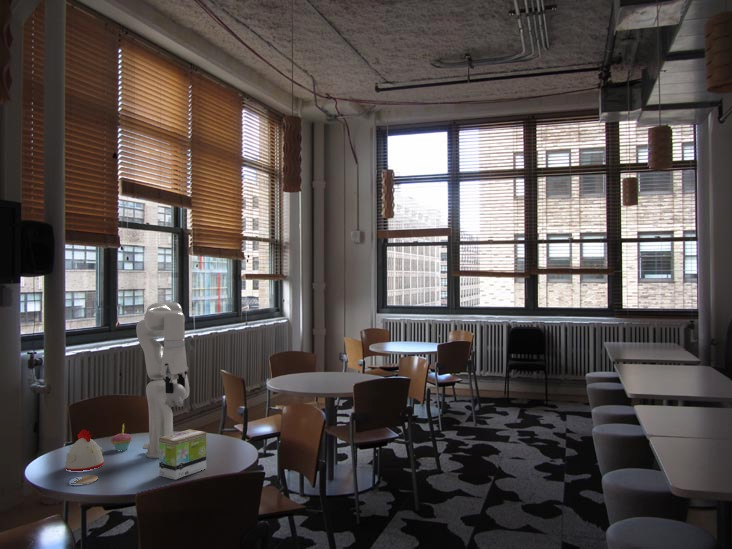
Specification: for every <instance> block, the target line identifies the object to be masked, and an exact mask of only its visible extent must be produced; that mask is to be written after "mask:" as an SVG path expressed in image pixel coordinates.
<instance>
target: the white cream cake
mask: <svg viewBox="0 0 732 549" xmlns="http://www.w3.org/2000/svg"><path fill="white" fill-rule="evenodd" d="M91 437H92V434H90V431H89V430H87V429H81V431H79V433H78V434H77V439H78V440H76V441H75V442H74V443H73V445H72V446H71V447H70V450H69V451H68V452H66V456H65V458H66V461H65V465H64V469H65V468H66V469H67V470H71V471H83V470H90V469H94V468H98V467H100V466H102V465H103V464H104V463H105V461H104V456H103V452H104V451H103V448H102V446H99V445H98V444H97V442H96V441H95V440H93V439H91ZM104 465H105V464H104ZM104 465H103V466H104Z"/></svg>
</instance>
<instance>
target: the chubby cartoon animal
mask: <svg viewBox="0 0 732 549" xmlns="http://www.w3.org/2000/svg"><path fill="white" fill-rule="evenodd" d="M173 386H174V393H166V397H167V399H166V401H165V404H166V405H168V406H169V407H170V408H172V407H183V406H184V400H185V399H184V398H185V395H186V390H185V388H184V387H183V386H182V385H180V384H173Z"/></svg>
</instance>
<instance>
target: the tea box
mask: <svg viewBox="0 0 732 549" xmlns="http://www.w3.org/2000/svg"><path fill="white" fill-rule="evenodd" d="M158 463H159V464H158V475H159V476H160V477H163V478H166V479H170V480H178V479H180V478H183V477H186V476H189V475H193V474H196V473H199V472H202V471H205V470H207V432H206V431H201V430H195V429H191V428H190V429H186V430H183V431H178V432H175V433H174V432H173V434H171V435H167V436H163V437H160V438H159V458H158ZM204 469H205V470H204ZM201 470H202V471H201Z"/></svg>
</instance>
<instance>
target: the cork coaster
mask: <svg viewBox="0 0 732 549" xmlns="http://www.w3.org/2000/svg"><path fill="white" fill-rule="evenodd" d="M80 476H81V477H82V479H80V480H79V479H78V478H76V479H77V480H78V481H77V480H76V481H74V482H76V483H71V484H87V483H91V482H93V481H96V480H97V479H98V480H99V476H98V475H95V474H85V475H80ZM98 480H97V481H98ZM97 481H96V482H97ZM91 484H92V483H91ZM87 485H88V484H87Z"/></svg>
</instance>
